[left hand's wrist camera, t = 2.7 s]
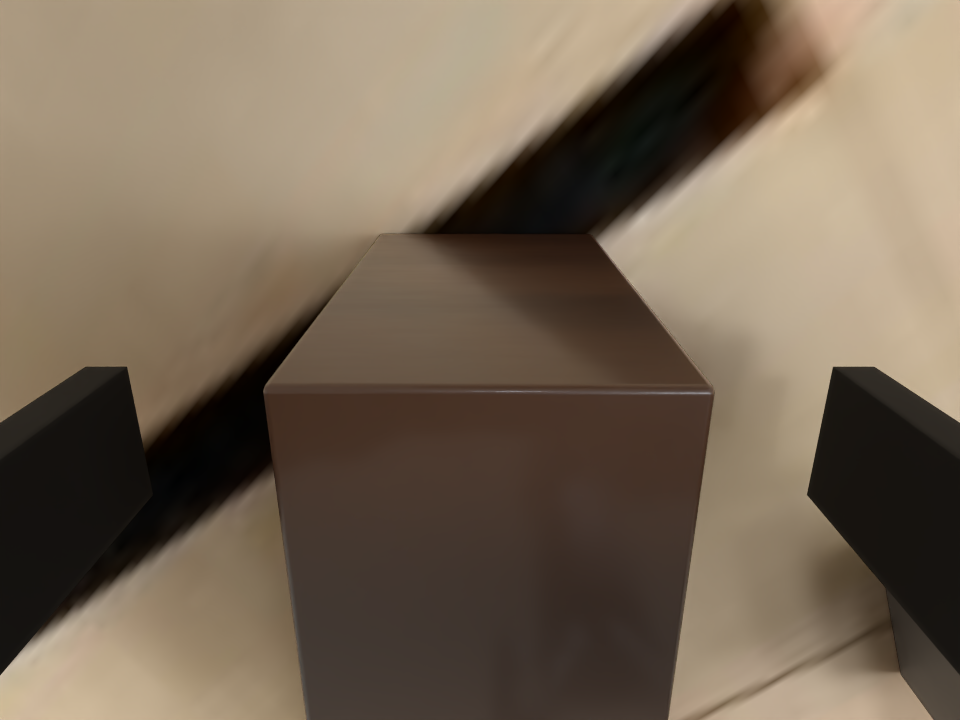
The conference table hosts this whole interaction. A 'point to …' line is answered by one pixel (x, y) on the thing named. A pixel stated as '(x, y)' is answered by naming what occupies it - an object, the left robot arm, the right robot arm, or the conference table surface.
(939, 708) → the charcoal cube
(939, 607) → the left robot arm
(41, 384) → the conference table surface
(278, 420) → the walnut bar
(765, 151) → the conference table surface
